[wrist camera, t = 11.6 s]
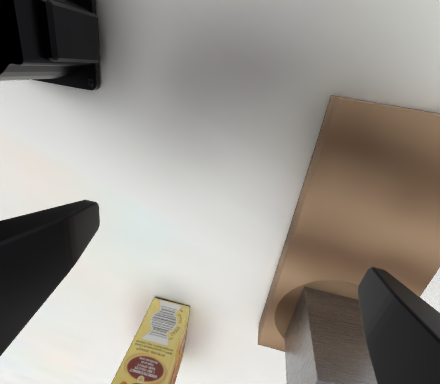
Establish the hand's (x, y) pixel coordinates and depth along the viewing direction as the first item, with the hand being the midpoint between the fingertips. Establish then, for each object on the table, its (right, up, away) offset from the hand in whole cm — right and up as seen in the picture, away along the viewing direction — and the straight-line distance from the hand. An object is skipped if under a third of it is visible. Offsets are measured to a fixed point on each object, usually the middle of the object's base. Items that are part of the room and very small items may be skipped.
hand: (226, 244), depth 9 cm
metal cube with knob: (+9, -9, +13) cm, 18 cm away
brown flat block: (+10, -3, +12) cm, 16 cm away
